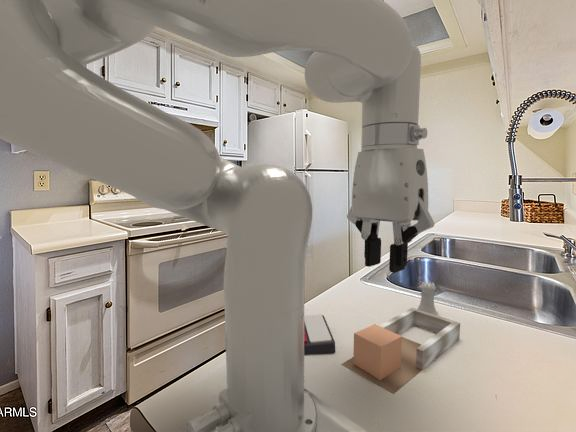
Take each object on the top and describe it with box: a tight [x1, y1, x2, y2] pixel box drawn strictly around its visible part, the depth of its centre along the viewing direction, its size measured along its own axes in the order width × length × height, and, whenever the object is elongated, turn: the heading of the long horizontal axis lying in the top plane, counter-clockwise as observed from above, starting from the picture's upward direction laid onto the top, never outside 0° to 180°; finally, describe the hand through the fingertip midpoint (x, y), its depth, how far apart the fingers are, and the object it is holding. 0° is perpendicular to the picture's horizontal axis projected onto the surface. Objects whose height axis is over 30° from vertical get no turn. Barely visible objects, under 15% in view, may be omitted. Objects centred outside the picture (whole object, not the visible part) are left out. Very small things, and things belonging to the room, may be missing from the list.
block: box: [352, 324, 403, 380], centre depth 48 cm, size 5×5×5 cm
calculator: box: [304, 313, 336, 356], centre depth 57 cm, size 11×4×15 cm
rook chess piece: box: [416, 280, 438, 316], centre depth 67 cm, size 4×4×8 cm
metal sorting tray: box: [340, 307, 461, 395], centre depth 52 cm, size 22×9×4 cm, turn 131°
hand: (384, 266), depth 46 cm, fingers open, 3 cm apart
